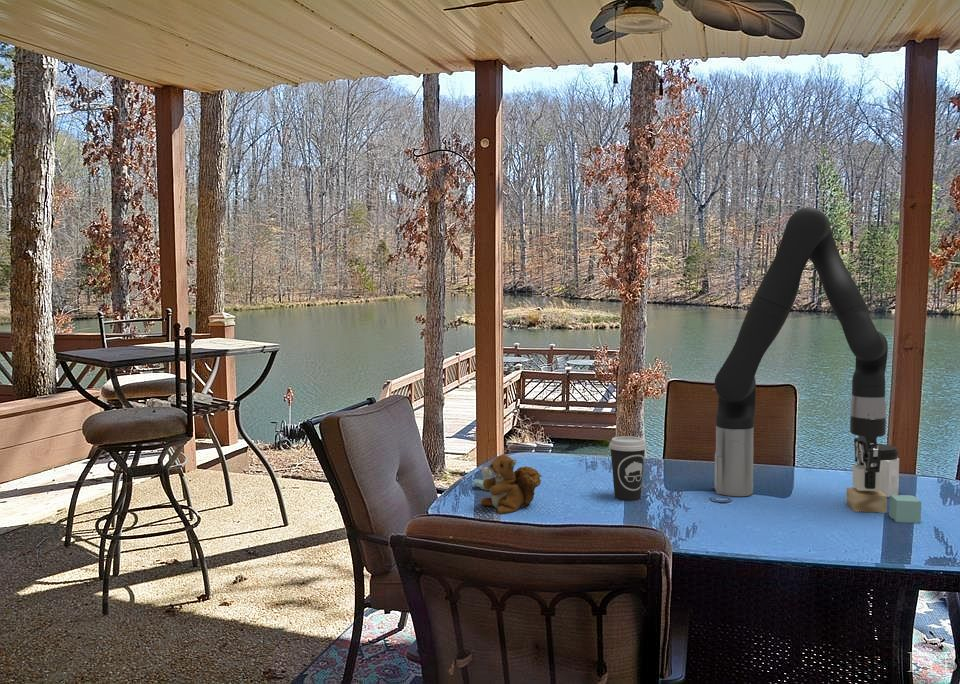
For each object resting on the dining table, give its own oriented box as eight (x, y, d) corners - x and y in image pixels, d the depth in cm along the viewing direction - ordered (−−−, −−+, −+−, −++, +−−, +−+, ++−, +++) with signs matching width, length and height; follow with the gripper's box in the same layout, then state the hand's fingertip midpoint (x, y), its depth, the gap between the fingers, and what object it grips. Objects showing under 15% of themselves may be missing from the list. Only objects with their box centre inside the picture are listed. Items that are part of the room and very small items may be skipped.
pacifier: (481, 485, 211) (471, 489, 206) (481, 462, 211) (471, 466, 206) (505, 488, 208) (496, 492, 203) (505, 465, 208) (496, 469, 202)
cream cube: (858, 490, 182) (858, 469, 181) (852, 485, 187) (852, 464, 186) (881, 491, 181) (881, 470, 180) (874, 485, 186) (875, 465, 185)
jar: (884, 499, 191) (886, 451, 190) (853, 492, 198) (854, 446, 197) (904, 493, 196) (905, 447, 195) (872, 487, 203) (873, 442, 202)
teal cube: (896, 522, 173) (896, 500, 173) (889, 516, 178) (889, 494, 178) (920, 523, 172) (921, 501, 172) (912, 517, 177) (913, 495, 177)
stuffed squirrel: (477, 505, 191) (476, 452, 190) (528, 498, 196) (528, 447, 196) (492, 515, 182) (492, 461, 181) (546, 508, 187) (545, 455, 186)
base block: (854, 511, 181) (854, 494, 181) (846, 503, 188) (846, 487, 188) (886, 512, 180) (886, 496, 180) (877, 504, 187) (877, 488, 186)
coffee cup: (650, 494, 198) (650, 437, 197) (641, 504, 190) (642, 444, 189) (614, 490, 202) (614, 434, 201) (604, 500, 194) (604, 441, 193)
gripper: (843, 409, 190) (841, 477, 191) (859, 419, 176) (857, 492, 177) (875, 410, 189) (874, 478, 190) (895, 420, 175) (893, 494, 176)
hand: (866, 485), depth 184 cm, fingers closed on cream cube, 4 cm apart
